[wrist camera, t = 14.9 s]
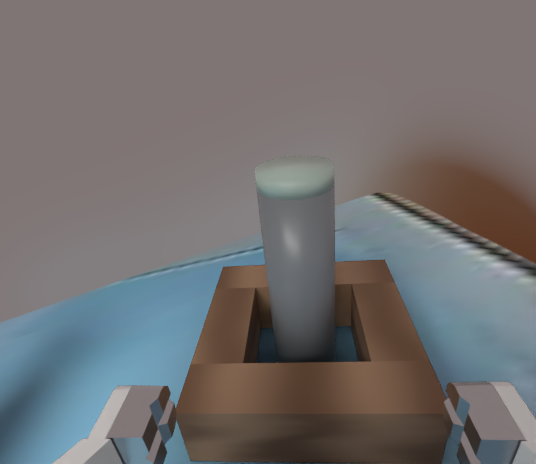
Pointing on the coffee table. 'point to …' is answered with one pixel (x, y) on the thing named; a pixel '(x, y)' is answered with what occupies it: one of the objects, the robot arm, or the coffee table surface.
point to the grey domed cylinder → (299, 255)
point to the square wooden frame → (312, 381)
